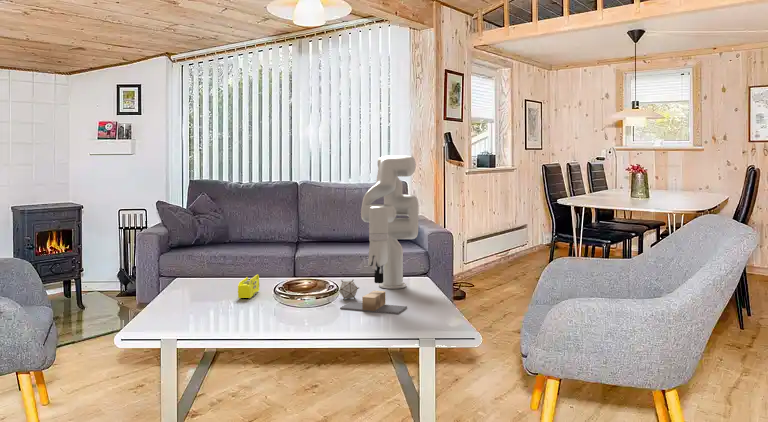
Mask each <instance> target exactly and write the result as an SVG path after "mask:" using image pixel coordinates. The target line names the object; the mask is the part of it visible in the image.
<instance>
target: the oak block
mask: <svg viewBox="0 0 768 422" xmlns="http://www.w3.org/2000/svg"><path fill="white" fill-rule="evenodd" d="M361 300H362V301H361V303H362V310H371V311H375V310H377V309H378V308H380V307H381V306H383V305H384V304H385V305H386V291H385V290H384V291H382V290H372V291H371V292H369V293H367V294H365V295H363V296H362V299H361Z"/></svg>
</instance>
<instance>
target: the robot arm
mask: <svg viewBox="0 0 768 422" xmlns="http://www.w3.org/2000/svg"><path fill="white" fill-rule="evenodd" d="M416 166H417V164H416V159H415V157H414V156H412V155H384V156H381V157H378V159H377V175H376V181H375V184H374V185H373V186H372V187H370V188H369V189H368V190H367V192H365V194H364V195H363V198H362V202H361V208H360V216H361V220H362V221H363V222H364V223H369V226H368V232H369V233H368V237H369V238H368V241H369V245H368V246H369V247H368V261H367V263H368V264H367V265H368V266H369V267H372V271H374V273H373V275H374V278H373V279H374V283H375V284H378V287H379V288H381V289H388V290H389V289H391V290H392V289H393V290H396V289H397V290H398V289H404V288H406V287H407V283H406V282H404V281H403V280H404V279H403V278H404V276H403V275H404V273H403V272H404V271H403V269H404V268H403V267H404V266H403V265H404V260H403V259H404V255H403V253H404V249H403V246H402V245H401V243H400V242H399V241H398V240H415V239H416V238H417V237H418V235H419V213H420V212H419V208H420V207H419V200H418V198H417V196H416V195H414V194H403V187H404V186H403V182H402V180H401V179H400V178H399V177H401V178H402V177H404V178H405V177H411V176H413V175H414V173H415V171H416ZM382 198H383V204H381V203H379V204H377V203H376V204H375V203H374V202H375V201H377V200H378V199H382ZM397 216H407V218H406V217H405V218H403V217H402V218H401V217H397Z"/></svg>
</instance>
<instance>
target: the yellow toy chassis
mask: <svg viewBox="0 0 768 422" xmlns="http://www.w3.org/2000/svg"><path fill="white" fill-rule="evenodd" d="M259 291H260V275H259V274H256V275H254V276H253V277H251V278H249V277H248V276H246V277H245V278H244V279H242V280H240V281H239V282H238V285H237V298H238V299H241V298H250V299H251V298H253V296H254V297H256V295H255V294H258V292H259Z"/></svg>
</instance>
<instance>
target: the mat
mask: <svg viewBox="0 0 768 422" xmlns="http://www.w3.org/2000/svg"><path fill="white" fill-rule="evenodd" d="M407 308H408V306H406V305H394V304H386V303H385V304H384V305H383V306H381V307H380V308H378V309H377V310H375V311H371V310H362V301H359V302H357V301H350V302H348V303H346V304H344V305H342V306H340V308H339V309H340V310H344V311H345V310H347V311H355V312H356V311H359V312H368V313H381V314H389V315H390V314H392V315H400V314H401V313H402V312H404V311H405V310H406V309H407Z"/></svg>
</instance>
